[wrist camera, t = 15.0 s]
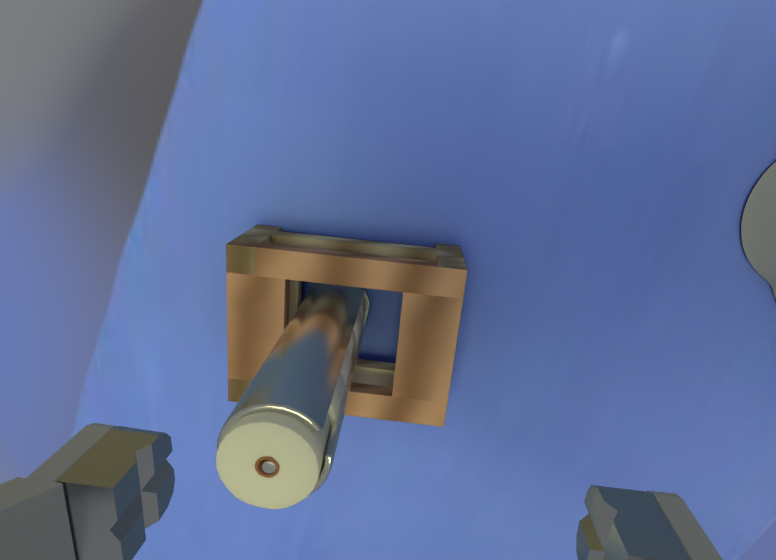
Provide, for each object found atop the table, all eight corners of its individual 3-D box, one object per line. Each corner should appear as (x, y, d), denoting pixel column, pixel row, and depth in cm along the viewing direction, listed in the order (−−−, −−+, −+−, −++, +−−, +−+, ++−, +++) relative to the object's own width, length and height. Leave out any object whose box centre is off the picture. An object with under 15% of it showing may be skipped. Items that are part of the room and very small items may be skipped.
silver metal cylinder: (362, 339, 51) (316, 528, 27) (301, 325, 50) (202, 502, 27) (376, 282, 49) (340, 431, 25) (313, 267, 48) (216, 402, 25)
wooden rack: (460, 246, 47) (467, 270, 39) (440, 381, 52) (443, 426, 44) (257, 224, 48) (226, 244, 40) (256, 360, 52) (228, 400, 45)
